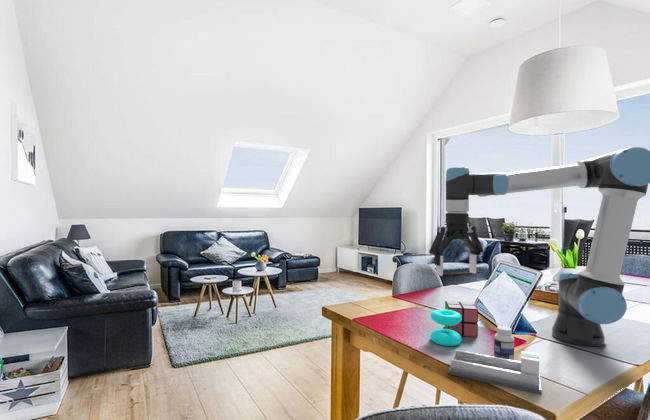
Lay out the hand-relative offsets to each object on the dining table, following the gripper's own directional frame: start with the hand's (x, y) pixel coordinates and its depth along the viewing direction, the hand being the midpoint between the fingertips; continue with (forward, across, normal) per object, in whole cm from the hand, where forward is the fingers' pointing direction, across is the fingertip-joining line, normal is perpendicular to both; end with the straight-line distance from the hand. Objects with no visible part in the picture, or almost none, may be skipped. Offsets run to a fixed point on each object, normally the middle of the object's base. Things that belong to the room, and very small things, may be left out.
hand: (456, 274), depth 127 cm
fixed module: (+23, +2, +32) cm, 39 cm away
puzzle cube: (+23, -6, -6) cm, 24 cm away
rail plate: (+22, +7, +26) cm, 35 cm away
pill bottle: (+23, -3, +19) cm, 30 cm away
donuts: (+23, +5, +1) cm, 23 cm away
